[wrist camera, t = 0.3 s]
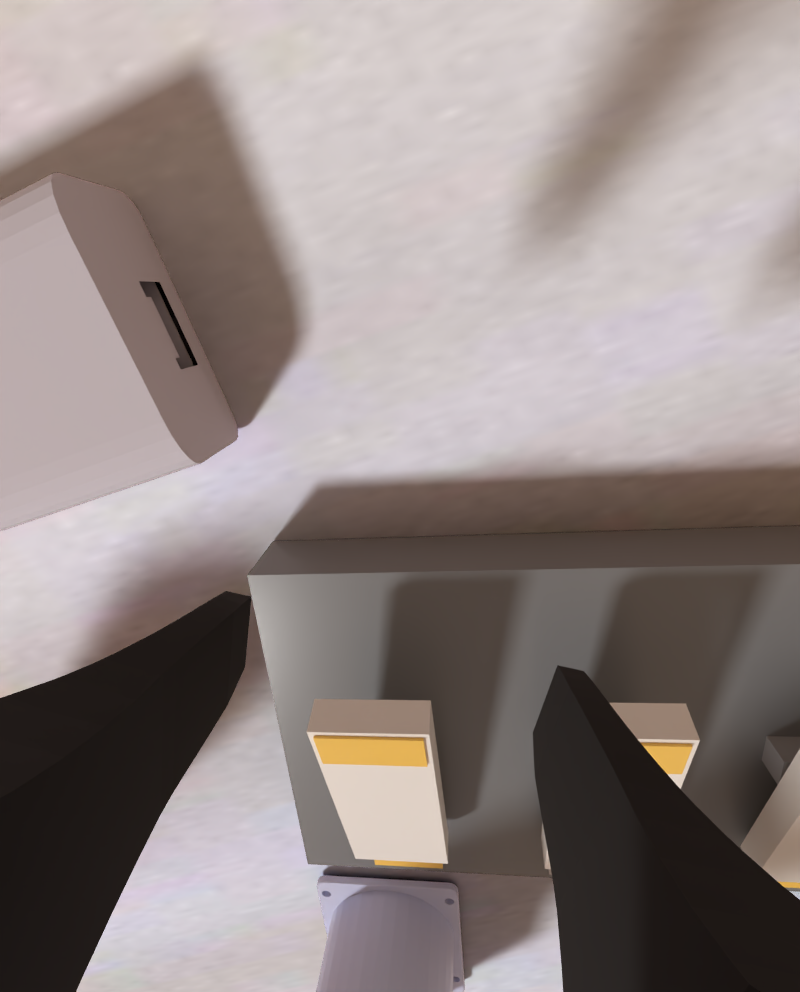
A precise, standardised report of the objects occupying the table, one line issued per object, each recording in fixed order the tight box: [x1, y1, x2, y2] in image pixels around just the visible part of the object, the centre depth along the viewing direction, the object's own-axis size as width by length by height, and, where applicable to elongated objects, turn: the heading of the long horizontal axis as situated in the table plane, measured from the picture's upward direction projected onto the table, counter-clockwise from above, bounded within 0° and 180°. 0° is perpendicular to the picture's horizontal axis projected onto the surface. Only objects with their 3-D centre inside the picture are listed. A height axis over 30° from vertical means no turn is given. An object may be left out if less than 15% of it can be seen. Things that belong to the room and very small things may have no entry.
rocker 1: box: [307, 699, 448, 864], centre depth 20 cm, size 10×4×1 cm, turn 4°
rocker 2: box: [541, 703, 700, 869], centre depth 19 cm, size 10×4×1 cm, turn 4°
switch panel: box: [247, 526, 800, 891], centre depth 22 cm, size 16×26×4 cm, turn 95°
